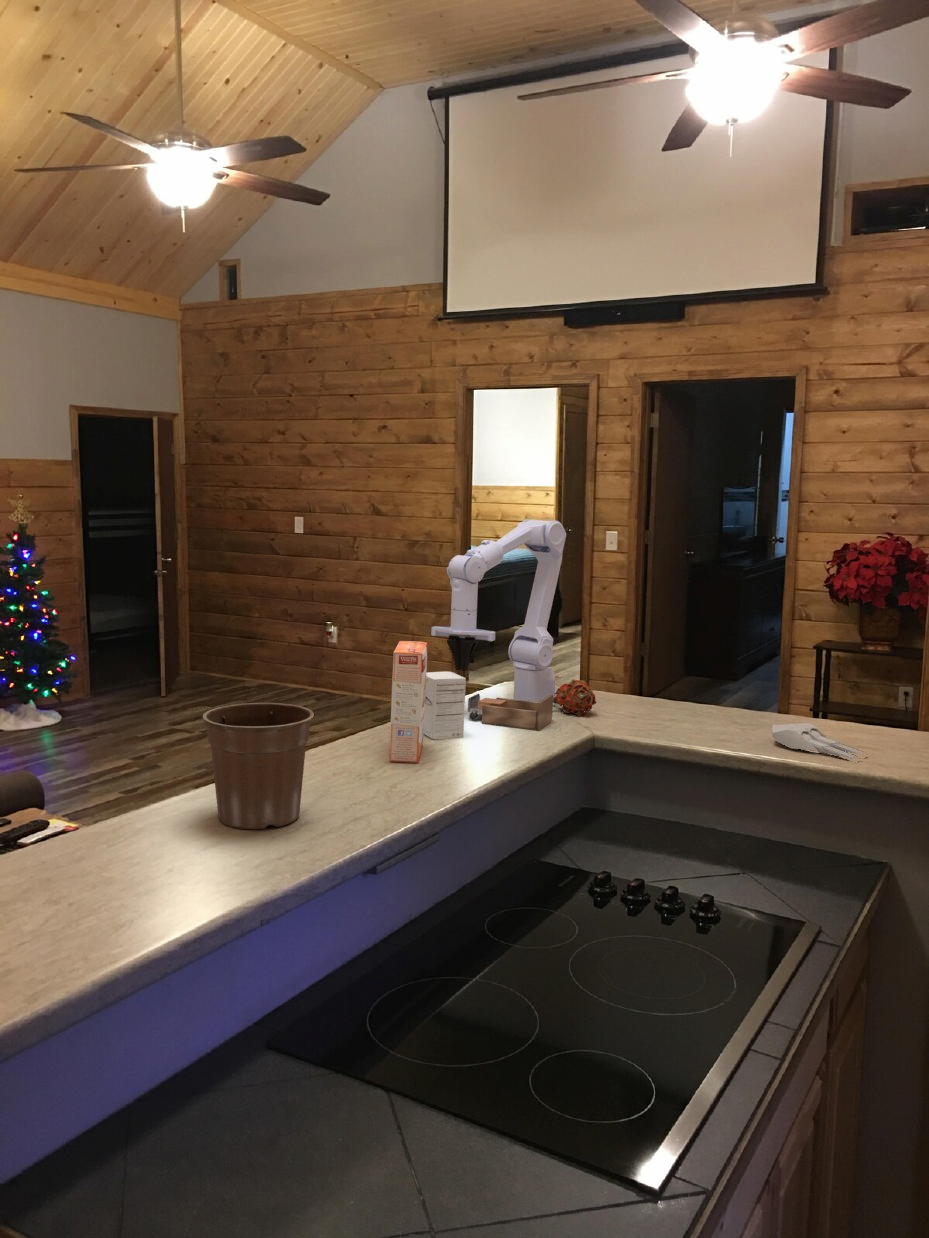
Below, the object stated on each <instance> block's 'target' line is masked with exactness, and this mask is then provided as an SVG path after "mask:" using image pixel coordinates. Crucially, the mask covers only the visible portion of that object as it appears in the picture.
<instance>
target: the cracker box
mask: <svg viewBox="0 0 929 1238" xmlns="http://www.w3.org/2000/svg"><path fill="white" fill-rule="evenodd" d="M392 656H393V657H392V678H391V679H392V680H391V703H390V704H391V708H390V709H391V710H390V727H389V730H390V732H389V733H390V734H389V753H388V755H389V757H388V761H389V762H392V761H393V762H396V763H411V764H418V763H419V761H420V758H421V757H420V756H421V753H422V749H423V746H424V734H423V732H424V714H425V695H426V673H427V670H428V669H427V668H428V667H427V666H428V642H425V641H413V640H412V641H411V640H409V641H408V640H400V641H398V643H397V645H396V647H395V649H394V651H393V655H392Z"/></svg>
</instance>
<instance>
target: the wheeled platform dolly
mask: <svg viewBox="0 0 929 1238" xmlns="http://www.w3.org/2000/svg"><path fill="white" fill-rule="evenodd" d="M483 705H487V706H496V707H504V708H509V707H507V700H500V699H496V698H490V697H483V698H482V699H481V696H480V693H476V694H475V695H472V696H471V697H469V698H468V699H467V712H468V713H469V715H468V716H469V719H470V720H473V721H475V720H477V719H478V718H479V714H482V706H483Z"/></svg>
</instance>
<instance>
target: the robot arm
mask: <svg viewBox="0 0 929 1238" xmlns="http://www.w3.org/2000/svg"><path fill="white" fill-rule="evenodd" d="M566 537H567V532H566V529H565V528H564V526H563V524H562V523H561V522H560V521H559V520H544V519H543V520H541V519H532V518H526V519H524V520H523V521H521V522H518V523H517V526H516V527H515V528H513V529H512V530H511V531H508V533H506V534H505V535H503V536H502V537H501V538H499V539H498V540H496V541H495V540H490V539H483V540H482V541H481V542H480V543H481V544H480V545H478V546H477V547H475V548H473V549H469V550H467V551H466V553H464V555H461V554H457V555H454V557H452V558H451V560H450V561H449V562H448V567H446V574H447V576H448V578H449V579H450V580H449V583H450V584H449V585H450V586H451V587H450V588H451V603H450V604H451V607H450V609H451V610H450V626H440V625H439V626H437V625H435V626H431V636H433V637H435V636H436V637H437V636H439V637H447V638H448V639H446V643H447V646H448V647H449V649H450V652H451V655H452V658H453V661H454V667H455V668H454V669H455V671H460V670H461V671H462V672H466V671H468V670H469V665H470V662H471V658H472V656H473V653H474V651H475V649H476V648H477V645H478V644H479V641H480V640H481V641H488V642H493V641H496V631H493V630H487V629H486V630H485V629H478V628H477V617H478V614H477V613H478V592H479V591H478V590H479V582H480V581H481V580H483V578H484V575H485V574H486V572H488V571H489V570H490V569H492V568H494V567H495V566H496V567H497V566H498V565H499V564H500V563H502V562H503V561H504V557H505V556H504V555H506V554H508V553H510V552H512V551H513V550H516V549H518V548H519V547H521V546H525V548H527V550H529V552H530V553H532V554H533V556H534V557H535V559H536V560H537V566H536V571H535V575H534V580H533V584H532V589H531V593H530V597H529V602H528V606H527V611H526V614H525V618H524V619H525V620H524V624H523V625H521V627H519V628H518V629H517V630H515V632H514V637H513V638H512V640H511V642H509V643H510V644H509V646H508V657H509V660H510V661H511V662H512V667H514V674H513V675H514V678H513V679H514V681H513V698H512V699H515V700H524V701H532V702H539V701H540V700H542V699H544V698H545V697H547V696H548V695H553V697H554V698H555V697H556V696H555V695H556V694H555V693H556V675H555V671H554V670H553V668H551V666H550V664H551V662H552V660H553V657H554V656H553V655H554V649H553V648H554V647H553V646H554V645H553V644H554V638H553V636H552V635H551V634H550V633H549V632H548V630H547V628H548V623H549V620H550V615H551V611H552V606H553V601H554V598H555V597H554V596H555V593H556V589H557V584H558V579H559V576H560V575H559V574H560V570H561V567H562V560H563V551H564V549H565V548H564V547H565V544H566V539H567V538H566ZM532 639H535V640H532ZM549 666H550V667H549ZM552 693H553V694H552ZM556 705H557V704H554V703H553V706H556Z"/></svg>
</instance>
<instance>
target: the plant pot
mask: <svg viewBox="0 0 929 1238" xmlns="http://www.w3.org/2000/svg"><path fill="white" fill-rule="evenodd" d="M314 716H315V715H314V712H313V710H311V709H310V708H308V707H305V706H301V705H298V704H289V703H287V704H286V703H278V702H249V703H248V702H247V703H237V704H230V705H223V706H219V707H215V708H213V709H210V710H208V711H206V712H204V713H203V715H202V720H203V722H204V723H205V724H206V733H207V739H208V740H207V742H208V744H209V745H210V749H211V750H210V751H211V758H212V767H213V779H214V788H215V796H216V797H215V799H216V807H217V809H216V810H217V818H218V820H220V821H221V823H222V824H223V825H225V826H229V827H232V828H234V829H239V830H240V829H241V830H263V829H266V828H267V827H269V826H274V827H276V828H278V827H282V826H285V825H288V824H291V823H293V822H295V821H296V820H297V819H298V818H299V817H300V814H301V813H300V812H301V802H302V791H303V782H304V781H303V778H304V770H305V769H304V768H305V759H306V758H305V757H306V750H307V749H306V747H307V743H308V742H309V736H310V728H311V727H310V726H311V721H312V720H313V719H314Z"/></svg>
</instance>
